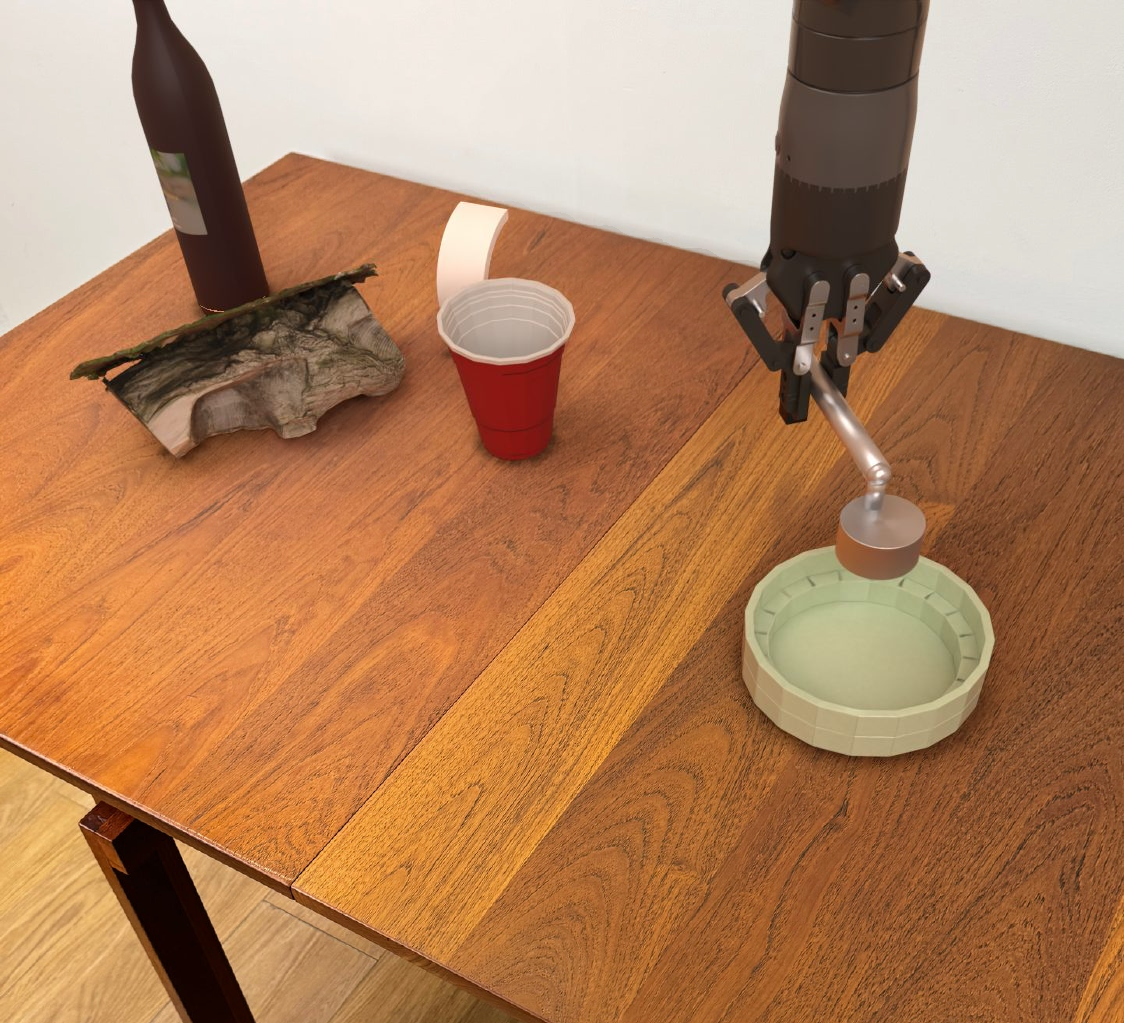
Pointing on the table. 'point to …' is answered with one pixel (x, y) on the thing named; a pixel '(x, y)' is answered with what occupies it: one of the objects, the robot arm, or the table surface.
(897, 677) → the bowl
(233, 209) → the wine bottle
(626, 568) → the table surface
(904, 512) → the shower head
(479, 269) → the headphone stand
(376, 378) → the mossy driftwood chunk
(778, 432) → the table surface
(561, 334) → the plastic cup
